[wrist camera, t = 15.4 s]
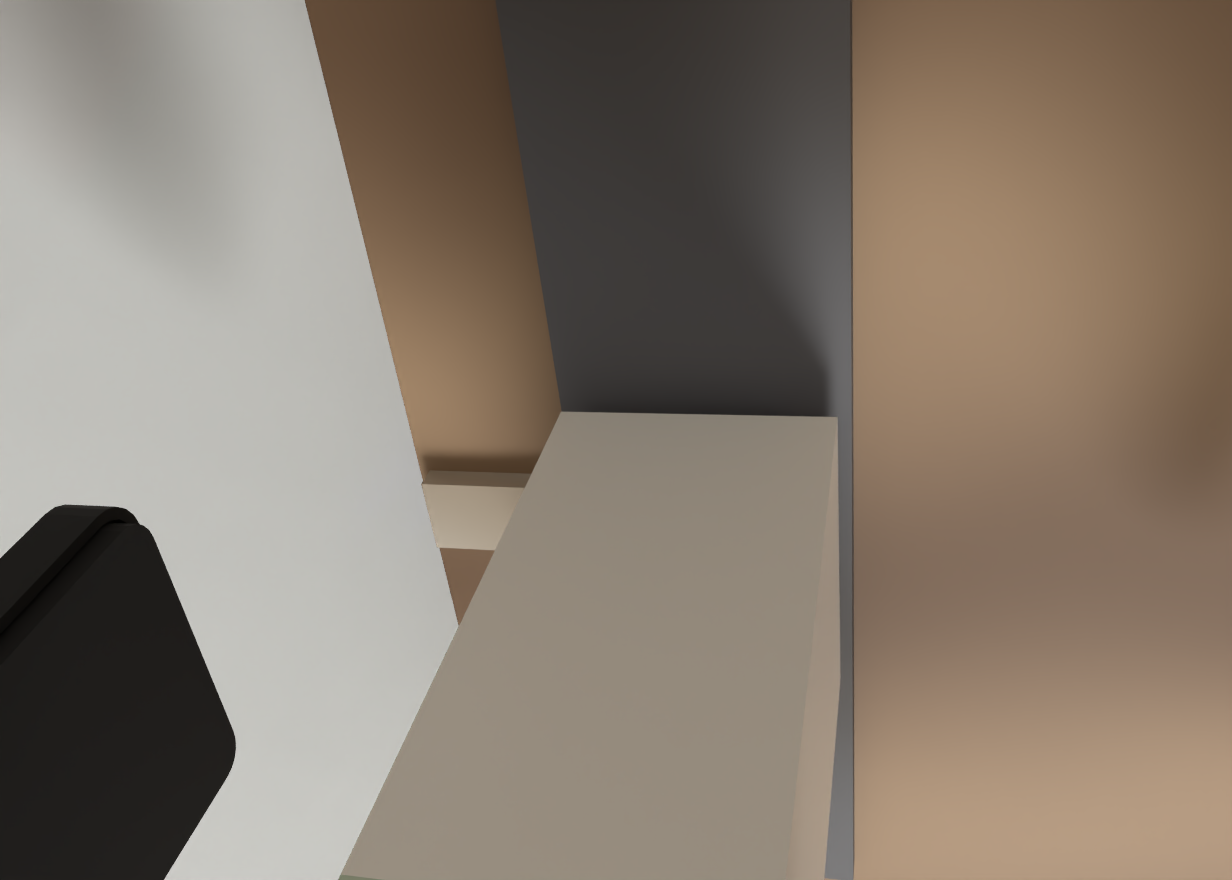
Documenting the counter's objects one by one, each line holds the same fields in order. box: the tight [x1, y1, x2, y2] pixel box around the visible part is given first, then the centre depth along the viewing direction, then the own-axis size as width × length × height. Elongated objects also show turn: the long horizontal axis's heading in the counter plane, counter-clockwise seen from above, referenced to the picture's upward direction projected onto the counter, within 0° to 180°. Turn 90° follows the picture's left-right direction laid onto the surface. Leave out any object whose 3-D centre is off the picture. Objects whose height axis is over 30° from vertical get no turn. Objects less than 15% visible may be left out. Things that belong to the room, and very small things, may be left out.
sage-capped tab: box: [338, 412, 840, 880], centre depth 9 cm, size 3×2×5 cm
